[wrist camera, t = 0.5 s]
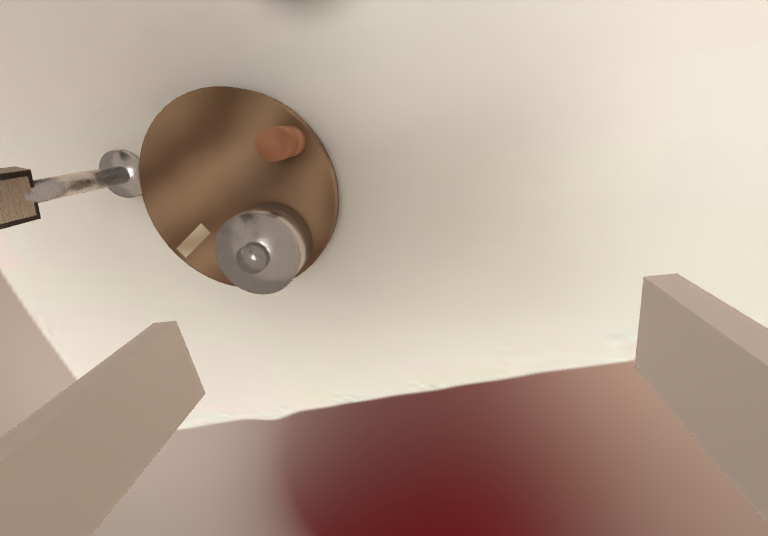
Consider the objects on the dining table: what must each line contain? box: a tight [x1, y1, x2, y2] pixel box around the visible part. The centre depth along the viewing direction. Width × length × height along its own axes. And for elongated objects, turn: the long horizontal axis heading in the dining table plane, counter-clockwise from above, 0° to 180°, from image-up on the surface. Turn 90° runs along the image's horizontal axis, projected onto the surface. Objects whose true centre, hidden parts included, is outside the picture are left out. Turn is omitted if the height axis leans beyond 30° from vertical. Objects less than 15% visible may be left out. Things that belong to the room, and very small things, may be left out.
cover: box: [214, 202, 313, 294], centre depth 32 cm, size 7×7×6 cm
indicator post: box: [0, 150, 142, 229], centre depth 30 cm, size 4×4×13 cm
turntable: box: [139, 87, 338, 287], centre depth 32 cm, size 18×18×6 cm
